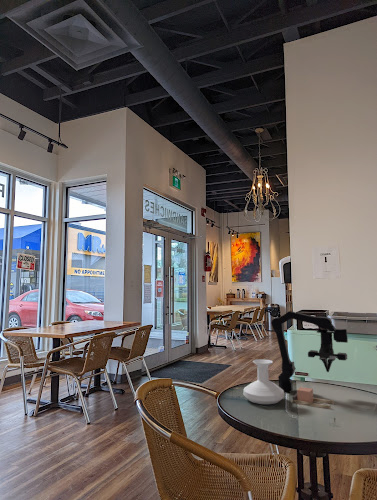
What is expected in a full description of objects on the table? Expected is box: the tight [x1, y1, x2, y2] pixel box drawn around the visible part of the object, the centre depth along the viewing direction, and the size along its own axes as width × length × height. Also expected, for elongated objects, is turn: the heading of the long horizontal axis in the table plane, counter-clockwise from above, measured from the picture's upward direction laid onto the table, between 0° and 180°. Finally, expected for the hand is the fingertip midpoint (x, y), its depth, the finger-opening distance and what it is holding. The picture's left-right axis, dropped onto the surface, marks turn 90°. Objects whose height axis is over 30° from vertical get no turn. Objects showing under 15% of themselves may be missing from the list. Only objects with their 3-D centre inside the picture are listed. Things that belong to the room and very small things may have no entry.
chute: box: [291, 392, 335, 410], centre depth 177 cm, size 18×9×3 cm, turn 57°
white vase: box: [242, 358, 285, 405], centre depth 182 cm, size 20×20×19 cm
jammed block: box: [296, 386, 314, 403], centre depth 179 cm, size 6×6×6 cm
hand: (327, 371), depth 190 cm, fingers closed
